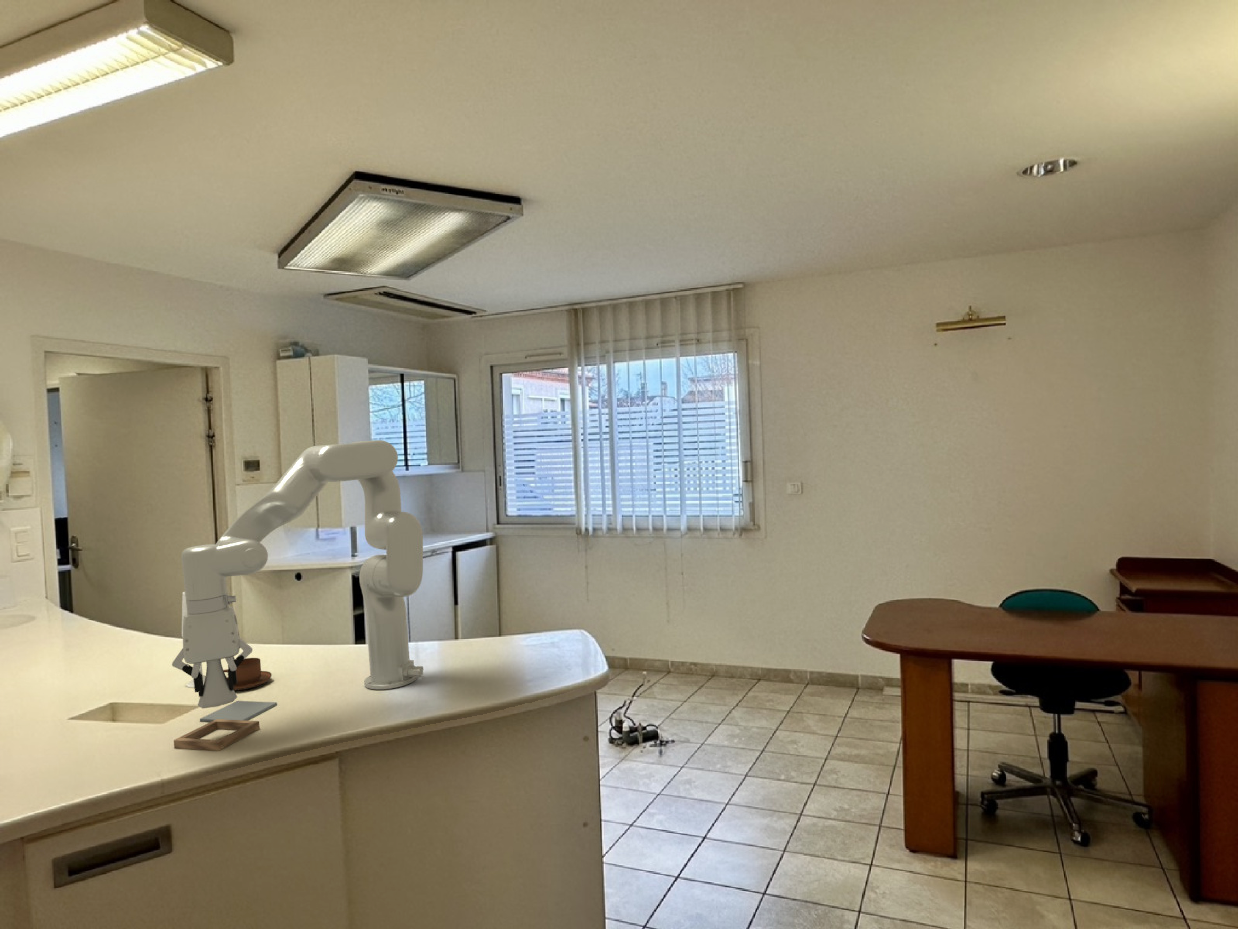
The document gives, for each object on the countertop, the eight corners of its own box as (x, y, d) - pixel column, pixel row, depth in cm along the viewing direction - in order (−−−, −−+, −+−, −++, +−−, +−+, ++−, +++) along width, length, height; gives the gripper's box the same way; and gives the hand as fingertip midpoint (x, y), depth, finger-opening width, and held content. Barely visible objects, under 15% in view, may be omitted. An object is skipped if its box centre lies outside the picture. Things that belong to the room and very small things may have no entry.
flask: (238, 703, 151) (233, 655, 150) (197, 712, 147) (192, 663, 147) (237, 693, 157) (232, 647, 156) (198, 701, 153) (193, 654, 153)
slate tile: (276, 705, 170) (276, 702, 170) (241, 723, 159) (241, 721, 159) (237, 703, 173) (237, 700, 173) (200, 721, 162) (199, 718, 162)
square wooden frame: (259, 728, 156) (259, 721, 156) (219, 750, 145) (218, 742, 145) (217, 726, 159) (216, 719, 159) (174, 748, 148) (173, 740, 148)
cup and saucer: (236, 697, 178) (234, 672, 178) (209, 690, 184) (207, 666, 184) (281, 681, 188) (280, 658, 188) (254, 676, 195) (252, 653, 194)
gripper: (254, 595, 158) (262, 678, 159) (162, 609, 151) (171, 695, 152) (253, 601, 151) (262, 688, 152) (157, 616, 144) (166, 707, 145)
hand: (216, 690), depth 152 cm, fingers closed on flask, 4 cm apart
